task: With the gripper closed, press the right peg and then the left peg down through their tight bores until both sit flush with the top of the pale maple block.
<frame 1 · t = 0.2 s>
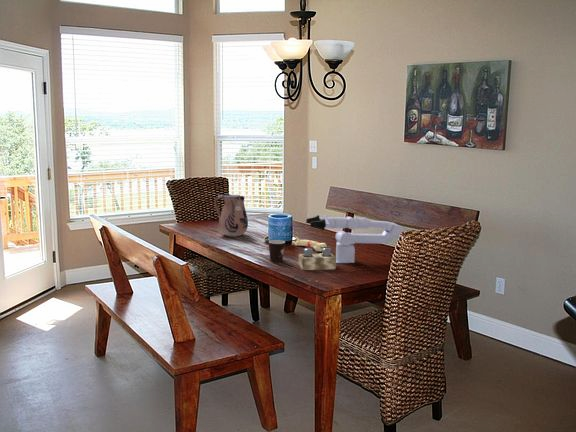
hand: (308, 222, 301), 21 cm above the table, tool horizontal, fingers open, 7 cm apart
peg a: (308, 254, 294), point 7 cm above the table, slide at 3.5 cm
peg b: (326, 254, 296), point 7 cm above the table, slide at 3.5 cm
ceramic pitcher: (230, 235, 366), on the table
cat figure: (310, 249, 336), on the table
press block: (316, 267, 296), on the table
coffee mug: (278, 260, 308), on the table
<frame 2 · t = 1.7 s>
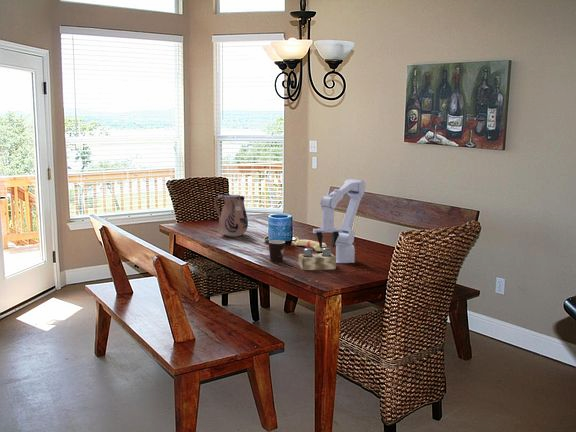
hand: (326, 246, 295), 10 cm above the table, tool pointing down, fingers open, 6 cm apart
nothing on the table moved.
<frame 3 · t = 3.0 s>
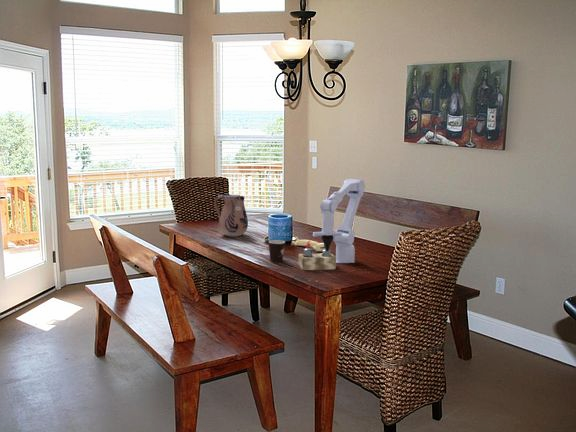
hand: (326, 250, 296), 9 cm above the table, tool pointing down, fingers closed, pressing on peg b
peg b: (326, 255, 296), point 6 cm above the table, slide at 2.7 cm, touching gripper
everything else where it was.
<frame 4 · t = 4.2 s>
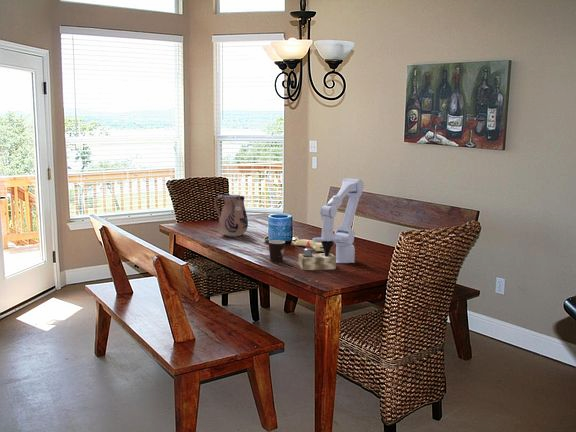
hand: (326, 255, 296), 6 cm above the table, tool pointing down, fingers closed, pressing on peg b
peg b: (326, 261, 297), point 3 cm above the table, slide at -0.2 cm, touching gripper
everything else where it was.
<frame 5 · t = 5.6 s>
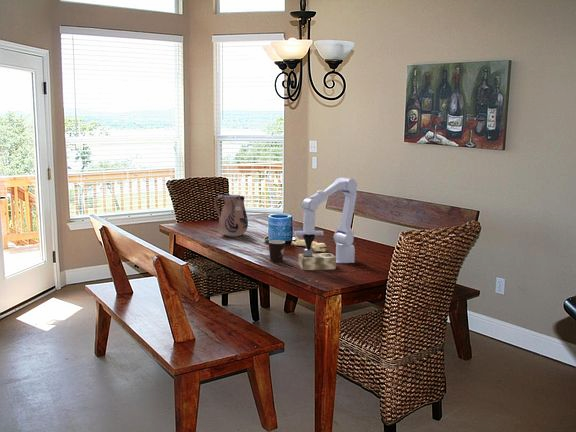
hand: (308, 249, 294), 9 cm above the table, tool pointing down, fingers closed, pressing on peg a
peg a: (308, 254, 294), point 7 cm above the table, slide at 3.4 cm, touching gripper
peg b: (326, 261, 297), point 3 cm above the table, slide at -0.2 cm
everything else where it was.
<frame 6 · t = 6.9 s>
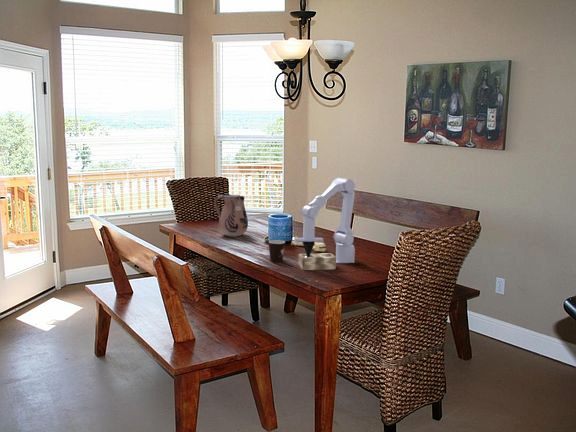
hand: (308, 256, 294), 6 cm above the table, tool pointing down, fingers closed, pressing on peg a
peg a: (307, 261, 295), point 3 cm above the table, slide at -0.2 cm, touching gripper
everything else where it was.
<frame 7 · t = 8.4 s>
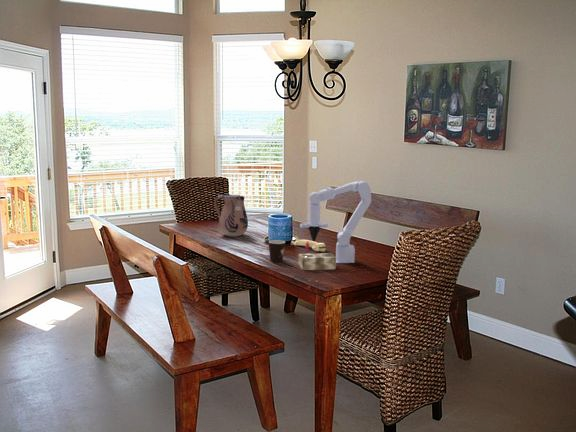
hand: (313, 240, 308), 10 cm above the table, tool pointing down, fingers closed
peg a: (307, 261, 295), point 3 cm above the table, slide at -0.2 cm
everything else where it was.
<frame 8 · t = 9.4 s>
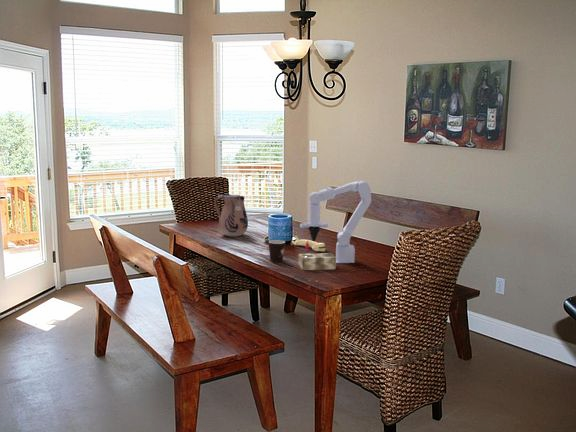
hand: (313, 240, 308), 10 cm above the table, tool pointing down, fingers closed
nothing on the table moved.
at the end: peg b slide at -0.2 cm; peg a slide at -0.2 cm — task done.
